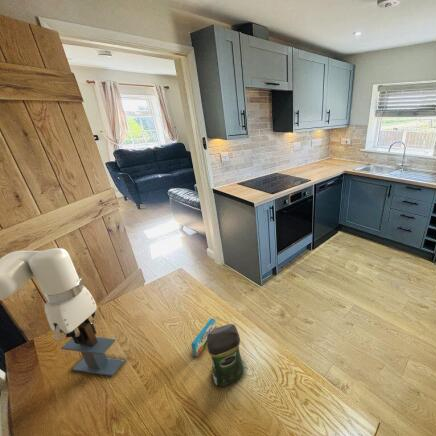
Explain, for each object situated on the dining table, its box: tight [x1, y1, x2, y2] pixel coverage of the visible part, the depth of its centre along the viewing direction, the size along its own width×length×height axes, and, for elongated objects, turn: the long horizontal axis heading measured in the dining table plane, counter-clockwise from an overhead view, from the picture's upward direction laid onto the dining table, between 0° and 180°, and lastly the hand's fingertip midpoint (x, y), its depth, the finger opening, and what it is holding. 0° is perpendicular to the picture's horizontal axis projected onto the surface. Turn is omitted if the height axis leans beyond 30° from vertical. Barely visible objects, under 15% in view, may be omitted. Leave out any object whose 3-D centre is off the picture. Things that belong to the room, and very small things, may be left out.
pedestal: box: [60, 336, 125, 377], centre depth 76 cm, size 14×5×11 cm, turn 83°
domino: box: [78, 322, 98, 347], centre depth 72 cm, size 4×2×8 cm, turn 83°
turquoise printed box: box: [190, 317, 217, 357], centre depth 86 cm, size 12×2×6 cm, turn 164°
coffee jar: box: [206, 323, 245, 388], centre depth 73 cm, size 10×8×19 cm
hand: (86, 337), depth 73 cm, fingers closed
